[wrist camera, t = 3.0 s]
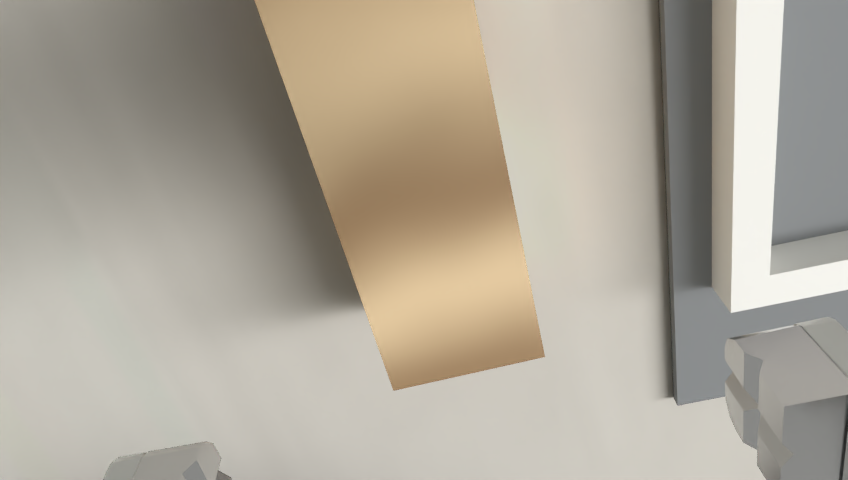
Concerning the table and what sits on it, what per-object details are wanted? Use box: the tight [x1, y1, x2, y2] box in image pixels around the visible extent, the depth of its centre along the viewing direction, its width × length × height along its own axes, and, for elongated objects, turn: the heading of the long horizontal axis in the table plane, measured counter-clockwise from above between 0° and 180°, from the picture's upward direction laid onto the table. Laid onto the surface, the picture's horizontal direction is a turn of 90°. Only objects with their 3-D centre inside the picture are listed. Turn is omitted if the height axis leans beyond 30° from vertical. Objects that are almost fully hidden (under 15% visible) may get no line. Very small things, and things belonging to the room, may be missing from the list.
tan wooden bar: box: [254, 0, 545, 390], centre depth 19 cm, size 12×4×4 cm, turn 14°
